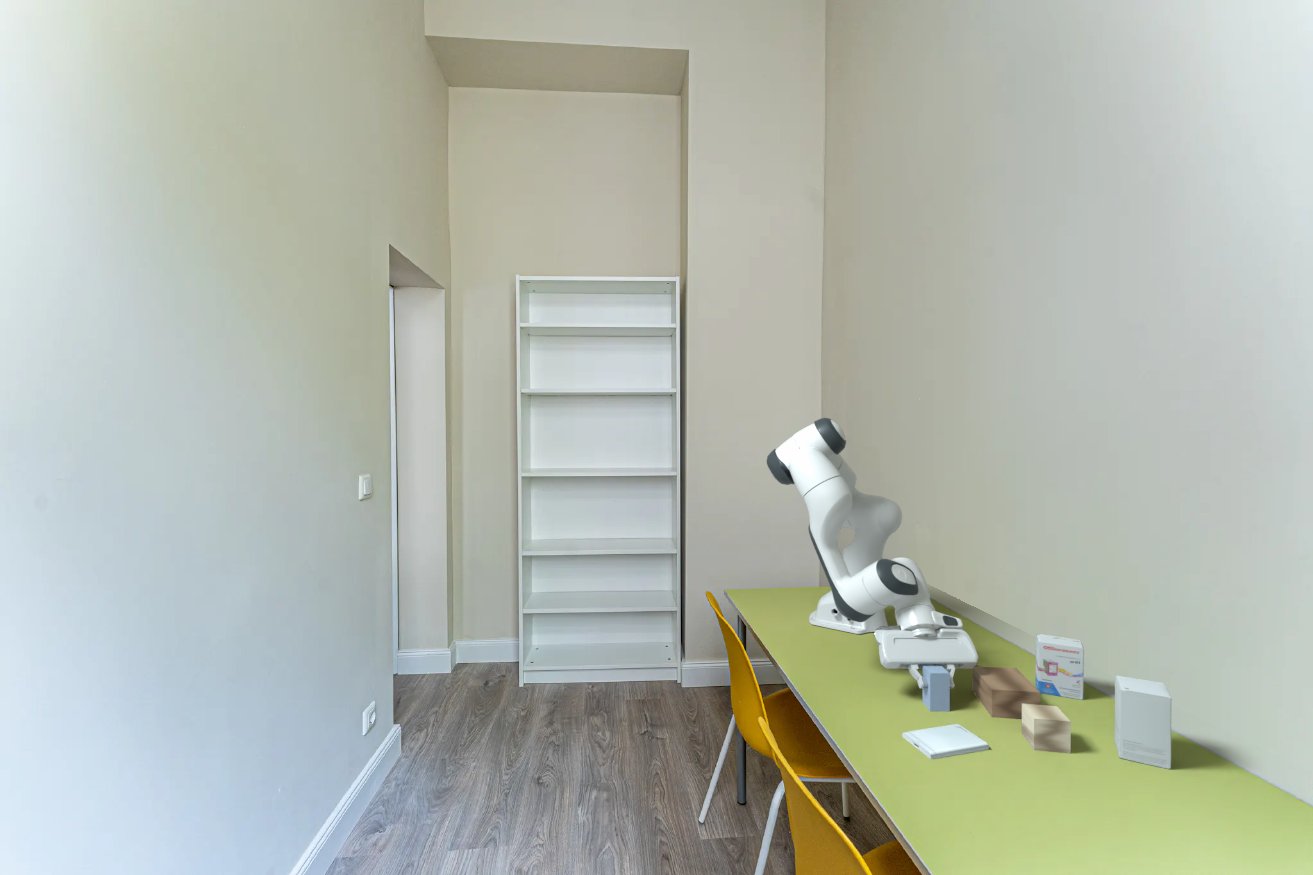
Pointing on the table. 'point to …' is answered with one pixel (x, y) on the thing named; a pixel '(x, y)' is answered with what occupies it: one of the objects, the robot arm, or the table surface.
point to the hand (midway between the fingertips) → (937, 687)
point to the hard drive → (945, 741)
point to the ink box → (1059, 666)
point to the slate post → (936, 688)
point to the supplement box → (1143, 721)
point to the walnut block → (1003, 691)
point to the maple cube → (1046, 728)
